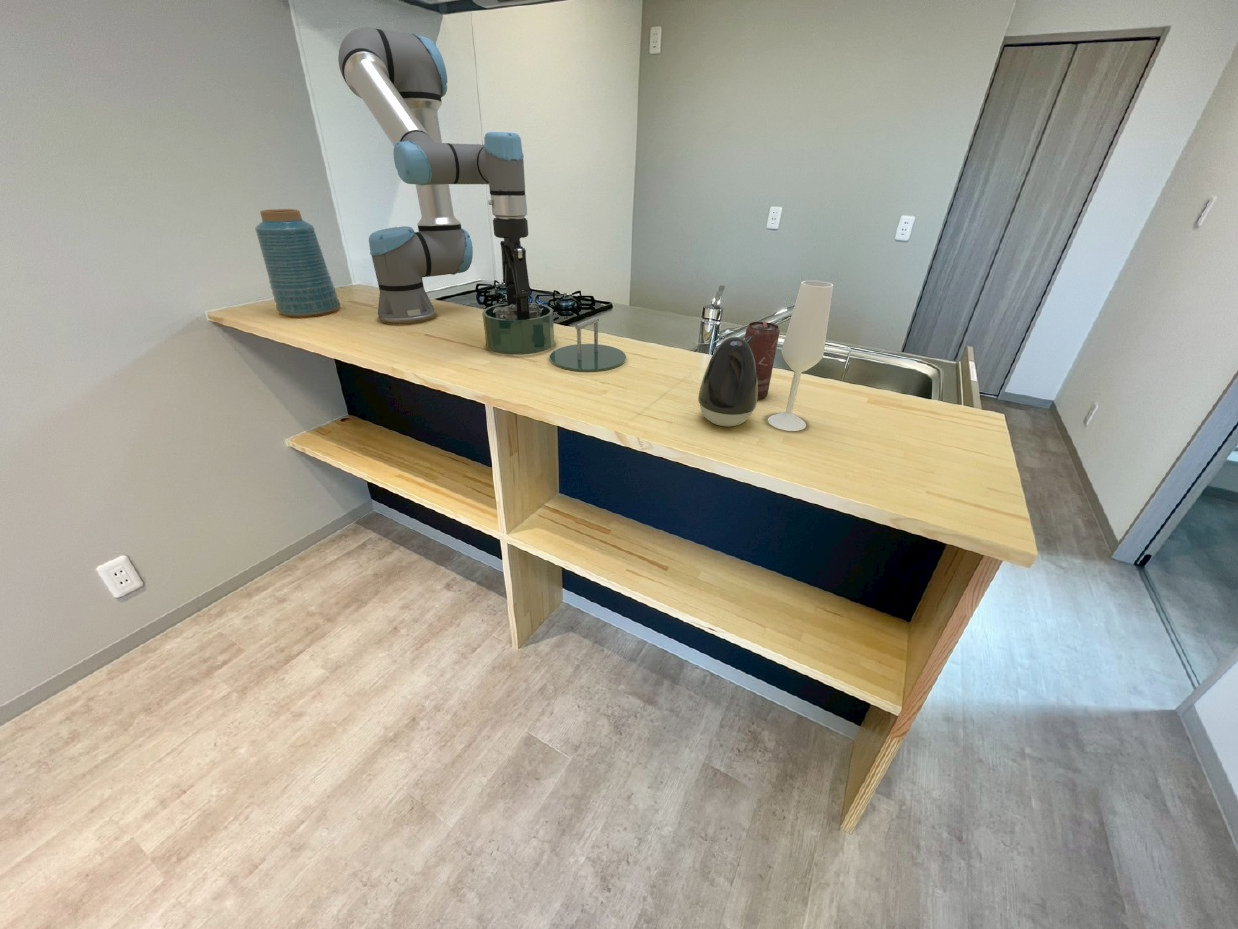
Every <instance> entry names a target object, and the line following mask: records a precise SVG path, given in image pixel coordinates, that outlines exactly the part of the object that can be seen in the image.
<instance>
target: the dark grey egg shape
mask: <svg viewBox="0 0 1238 929" xmlns="http://www.w3.org/2000/svg"><path fill="white" fill-rule="evenodd" d="M752 341H753V337H752V336H749V337H747V338H746V339H745V338H742V337H739V336H731V337H728V338H725V339H723V340H722V341H721V342H720V344H718V346H717V348H716V349H715V350H714V352H713V354H712V356H711V358H710V360H709V361H708V364H707V367H706V369H705V371H704V373H703V376H702V379H701V383H700V387H699V390H698V395H697V396H698V397H697V402H698V403H699V407H700V408H699V409H700V412H701V413H702V415H703V417H704V418H705V419H706V420H707V421H708V422H710V423H712V424H713V425H716V426H720V427H729V428H730V427H736V426H740V425H741V424H744V422H745V423H746V421H747V420H749V418H750V417H751V416H752V414H753V413H754V412H753V411H754V410H755V409H756V407H757V404H758V400H757V397H758V380H757V370H756V364H755V359H754V355H753V352H752V349H751V347H750V344H751V343H752Z"/></svg>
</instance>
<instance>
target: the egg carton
mask: <svg viewBox="0 0 1238 929" xmlns="http://www.w3.org/2000/svg"><path fill="white" fill-rule="evenodd" d="M528 304H529V317H530V319H533V318H538V317H540V312H542V311H541V310H542V309H543V308H542V309H540V308H539V306H538V305H537V306H535V305H534V304H532V302H528ZM495 312H496V318H497V319H506V320H518V319H517V308H516V304H515V305H513V304H511V305H510V306H505V307H496V308H495V309H494V310H493V313H495Z"/></svg>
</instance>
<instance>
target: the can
mask: <svg viewBox="0 0 1238 929" xmlns="http://www.w3.org/2000/svg"><path fill="white" fill-rule="evenodd" d="M749 336H752V337H753V341H752V343H751V344H750V347H751V349H752V352H753V355H754V359H755V364H756V370H757V380H758V397H757V401H758V400H763V399H765V398H766V397H767V396H768V393H769V389H770V385H771V379H772V373H773V368H774V365H775V364H774V363H775V357H776V353H777V348H778V343H779V338H780V329H779V325H777V323H772V322H768V321H766V320H765V321H764V320H763V321H752V322H750V323H748V326H746V328H745V334H744V340H745V339H746V338H747V337H749Z"/></svg>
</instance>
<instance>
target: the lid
mask: <svg viewBox="0 0 1238 929" xmlns="http://www.w3.org/2000/svg"><path fill="white" fill-rule="evenodd" d="M599 322H600V317H598V316H595V317H592V318H590V319H587V320H584V321H583V322H580V323H578V324H576V325H575V326H574V327H575V330H576V344H570V345H565V346H562V347H558V348H556V349H555V350H553V351H552V352H551V353H550V354H549V361H550V363H551V364H552V365H554V366H555V367H557V368H560V369H563V370H565V371H566V370H567V371H572V372H579V373H596V372H604V371H610V370H613V369H616V368H619V367H621V366H622V365H624V364H625V363H626V360H627V355H626V353H625V352H624V351H623V350H621V349H620V348H616V347H614V346H611V345H607V344H599ZM592 325H593V343H582V329H585V328H588V327H590V326H592Z"/></svg>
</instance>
